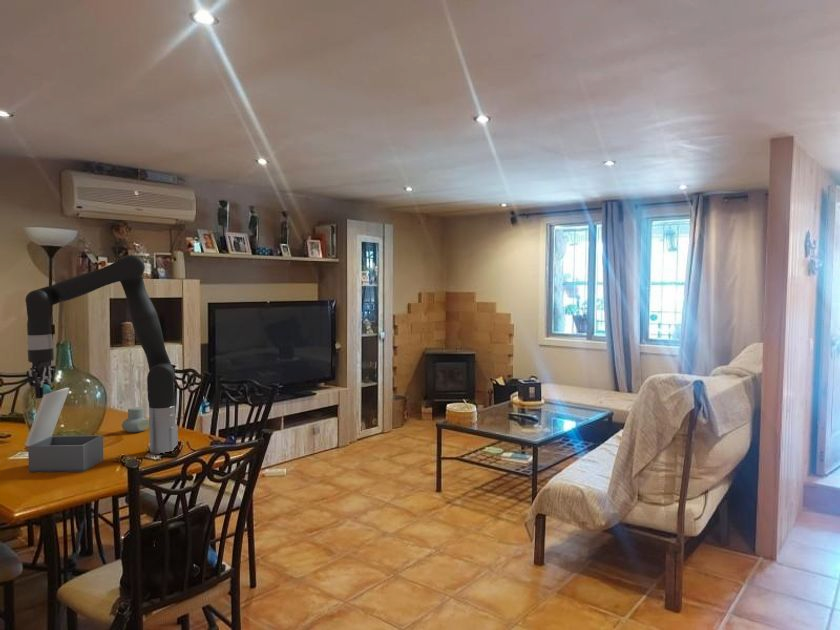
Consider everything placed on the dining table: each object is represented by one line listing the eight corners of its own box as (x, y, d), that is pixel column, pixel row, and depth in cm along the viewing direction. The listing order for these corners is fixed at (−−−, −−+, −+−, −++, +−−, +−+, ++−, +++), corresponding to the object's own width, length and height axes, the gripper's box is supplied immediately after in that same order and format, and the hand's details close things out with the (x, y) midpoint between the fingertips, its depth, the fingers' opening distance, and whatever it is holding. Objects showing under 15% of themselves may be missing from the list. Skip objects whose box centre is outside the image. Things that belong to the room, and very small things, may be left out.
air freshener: (136, 427, 266) (136, 405, 266) (152, 428, 264) (152, 406, 264) (118, 433, 256) (118, 410, 255) (135, 434, 254) (134, 411, 253)
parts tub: (103, 459, 216) (102, 435, 216) (83, 471, 202) (82, 445, 202) (52, 460, 215) (51, 436, 215) (28, 472, 201) (28, 446, 201)
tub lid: (70, 386, 215) (53, 379, 214) (47, 393, 200) (28, 386, 200) (51, 435, 215) (34, 429, 215) (27, 446, 201) (8, 439, 200)
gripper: (39, 349, 200) (42, 400, 201) (62, 345, 214) (65, 393, 215) (16, 350, 199) (19, 401, 200) (41, 346, 213) (43, 393, 214)
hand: (43, 396), depth 207 cm, fingers closed on tub lid, 3 cm apart
